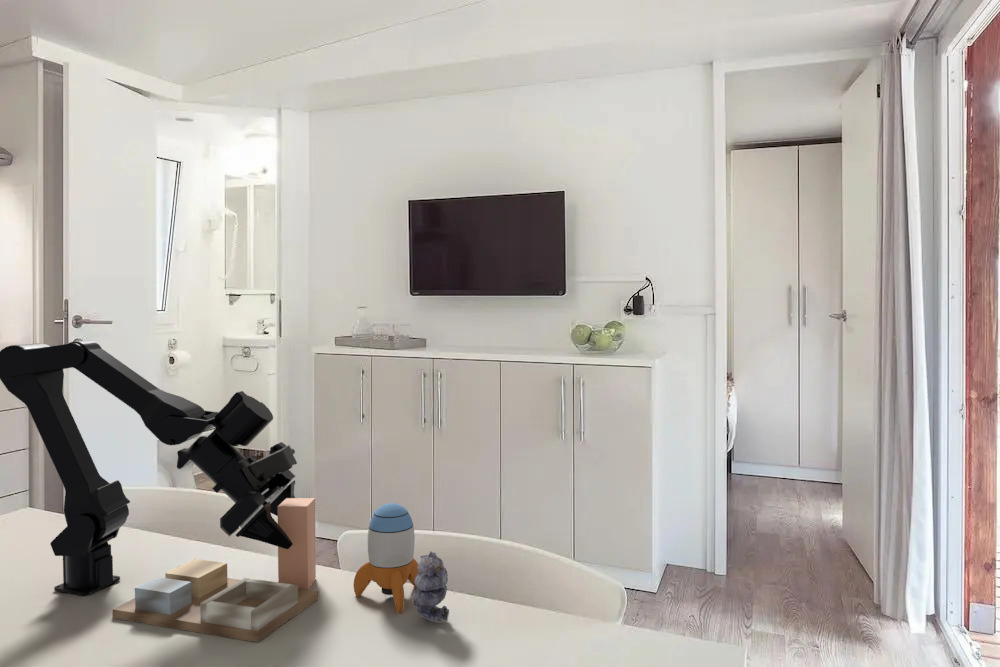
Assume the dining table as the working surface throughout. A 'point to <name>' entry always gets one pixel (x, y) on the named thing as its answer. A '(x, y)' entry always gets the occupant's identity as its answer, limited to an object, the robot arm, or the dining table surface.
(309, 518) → the post
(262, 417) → the robot arm
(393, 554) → the toy rocket
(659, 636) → the dining table surface
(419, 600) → the seashell
